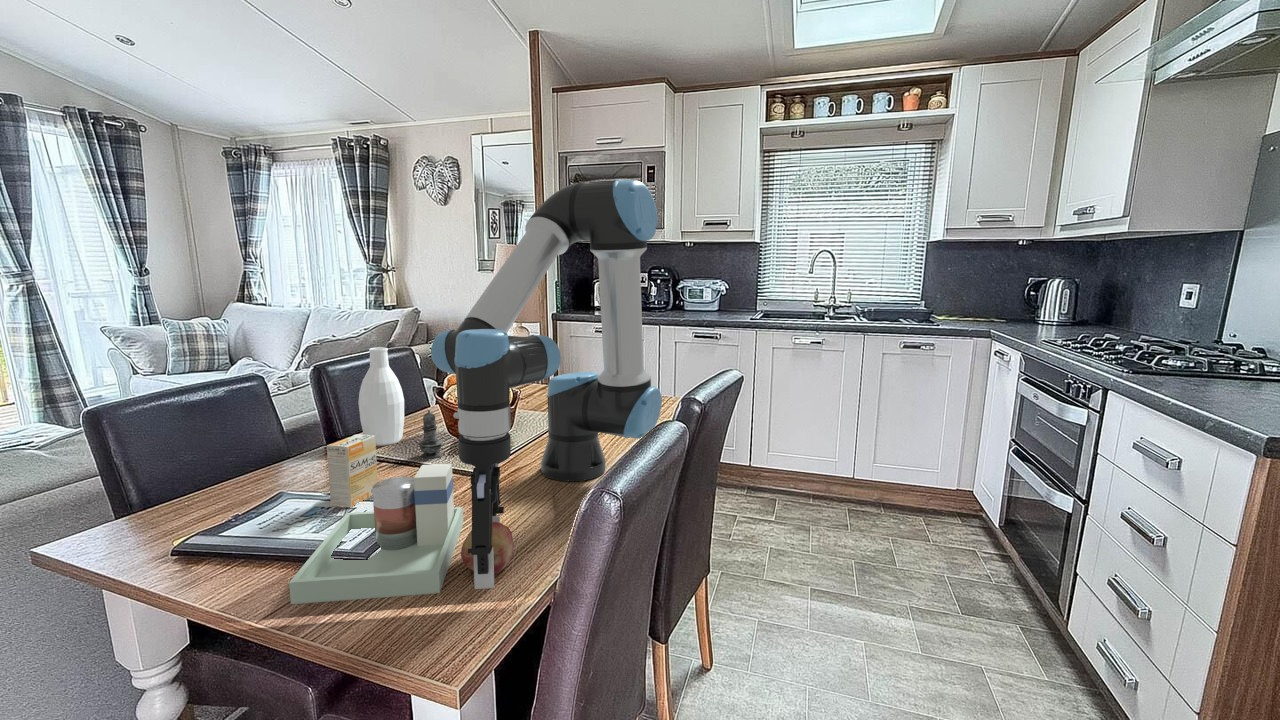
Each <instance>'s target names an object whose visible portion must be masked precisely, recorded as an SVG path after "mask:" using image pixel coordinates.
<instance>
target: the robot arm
mask: <svg viewBox="0 0 1280 720" xmlns="http://www.w3.org/2000/svg"><path fill="white" fill-rule="evenodd" d="M657 227H658V211H657V207H656V202H655V199H654V197H653V194H652V193H651V192H650V189H649V188H648V186H647V185H645V184H644V183H643V182H641V181H639V180H637V179H636V180H635V179H633V180H632V179H623V178H622V179H615V180H603V181H593V182H575V183H572V184H568V185H566V186H564V187H562V188H560V189H559V190H557V191H556V192H554V193H553V194H552V195H550V196H549V197H548V198H547V199H545V201H543V202H542V203H541V204H540V206H539V207H538V208H537V209H536V210H535V211H534V213H533V214H531V215H530V217H529V219H528V220H527V222H526V224H525V227H524V230H525V233H524V235H523V236H522V237H521V239H520V240H519V241H518V243H517V244H516V246H515V247H514V249H512V251H511V253H510V254H509V256H508V258H506V260H505V261H504V263H503V264H502V266H501V267H500V268H499V270H498V271H497V273H496V274H495V276H494V277H493V279H492V280H491V281H490V282H489V284H488V285H487V287H486V288H485V290H484V291H483V292H482V294H481V295H480V297H478V299H477V300H476V302H475V304H474V305H473V306H472V308H471V309H470V310H469V312H468V313H467V315H465V317H464V320H463V321H462V322H461V324H460V325H459V326H458V327H457V329H450V330H445V331H442V332H440V333H438V334H437V335H436V336H435V337H434V339H433V342H432V344H431V349H430V355H431V360H432V362H433V364H434V365H435V366H436V368H437V369H439V370H440V371H442V372H444V373H448V374H452V375H455V381H456V384H455V386H456V401H457V403H456V404H457V412H454V413H453V418H454V419H458V422H457V426H458V433H459V434H460V435H459V437H458V438H457V440H458V441H457V442H458V458H459V461H461V463H463V464H466V465H470V466H473V467H472V473H471V474H470V485H471V486H470V490H471V530H472V548H471V549H468V553H471V554H472V555H474V571H473V582H474V590H484V589H494V588H495V574H494V557H493V547H492V522H499V523H501V522H500V520H501V519H500V517H501V516H500V515H501V514H504V511H505V507H504V506H500V505H501V502H502V501H501V498H500V497H501V496H500V482H501V481H500V478H501V467H500V466H499V464H501V463H504V462H505V461H507V460H508V459H509V458H510V457H511V451H512V449H511V448H512V447H511V445H512V443H511V433H509V431H510V430H511V426H512V425H511V403H510V402H511V401H510V398H511V393H510V392H511V391H510V390H511V389H513V388H516V387H519V386H524V385H528V384H532V383H536V382H537V383H538V382H541V381H543V380H546V379H548V378H550V380H549V381H548V385H547V395H546V397H547V421H548V422H547V425H548V426H547V428H548V430H547V431H548V434H547V436H548V438H547V443H546V444H545V445H546V446H545V449H544V451H543V454H542V457H541V461H540V462H541V463H540V472H541V474H542V475H543V476H544V477H546V478H548V479H551V480H554V481H560V482H579V481H580V482H581V481H588V480H593V479H594V478H598V477H600V476H601V475H603V474H604V473H605V472H606V458H605V454H604V451H603V449H602V446H601V443H600V440H599V439H600V438H599V434H605V435H610V436H615V437H616V436H617V437H620V438H625V439H637V440H639V439H640V438H641V437H643V436H644V435H645V434H646V433H647V432H648V431H650V430H651V429H653V428H654V429H655V427H656V426H657V423H658V421H659V418H660V415H661V411H662V410H661V409H662V401H663V400H662V399H663V397H662V396H663V395H662V393H661V390H660V389H659V388H658V387H656V386H653V385H652V379H651V378H652V377H651V376H652V375H651V374H650V373H649V372H648V371H647V370H646V369H645V368H644V346H643V345H644V344H643V338H644V337H643V318H642V317H643V314H642V313H643V312H642V284H641V281H642V279H641V278H642V276H641V257H642V255H643V254H644V253H645V252H646V251H647V249H648V241H650V240H652V239H653V238H654V236H655V235H656V232H657V229H656V228H657ZM580 241H581V242H582V241H583V242H585V241H586V242H589V246H590V247H589V248H590V249H589V250H590V252H591V253H592V254H593V255H594V256H595V257H596V258H597V262H598V279H599V282H598V283H599V298H600V299H599V300H600V316H601V319H600V320H601V322H600V323H601V336H602V337H601V338H602V340H601V341H602V354H603V355H602V356H603V357H602V358H603V360H602V361H603V371H602V372H601V373H600V374H599V373H598V372H596V371H580V372H578V371H577V372H569V373H565V374H564V373H563V374H559V375H556V376H554V377H552V376H553V375H555V374H556V373H557V371H558V370H559V368H560V366H561V360H562V359H561V351H560V350H561V349H559V348H560V347H559V346H558V344H557V343H556V342H555V340H554V339H553V338H551V337H550V336H547V335H543V334H539V335H537V334H530V335H528V336H516V335H509V334H508V332H509V331H510V329H511V327H512V326H513V325H514V323H515V321H516V320H517V318H518V317H519V315H520V313H521V312H522V311H523V309H524V307H525V306H526V305H527V303H528V301H529V300H530V298H531V297H532V295H533V294H534V292H535V291H536V289H537V287H539V284H540V283H541V282H542V280H543V278H544V277H545V275H547V274H546V273H547V272H548V271H549V269H550V268H551V266H552V264H553V263H554V261H555V260H556V258H557V257H558V256H560V255H563V254H564V253H565V254H566V252H567V251H568V249H569V247H570V246H572V245H573V244H575V243H577V242H580ZM551 377H552V378H551ZM654 429H653V430H654Z"/></svg>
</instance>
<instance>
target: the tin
mask: <svg viewBox="0 0 1280 720" xmlns="http://www.w3.org/2000/svg"><path fill="white" fill-rule="evenodd" d="M414 491H415V489H414V477H411V476H394V477H390V478H386V479H383V480H380V481H377V483H376V484H374V485H373V496H372V499H373V503H372V504H373V505H372V506H373V512H374V521H375V531H376V541H377V543H378V544H379V545H380V547H381V549H382V550H400V549H404V548H408V547H410V546H412V545H414V544H416V543H417V527H416V508H415V497H414Z"/></svg>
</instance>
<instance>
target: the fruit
mask: <svg viewBox="0 0 1280 720" xmlns="http://www.w3.org/2000/svg"><path fill="white" fill-rule="evenodd" d="M513 540H514V539H513V534H512V531H511V529H510V528H509V527H508V526H507V525H505V524H503V523H501V522H500V523H499V522H492V547H493V557H494V575H496V574H498V573H500V572H501V571H503V570H504V569H505V567H507V565H508V564H509V563H510V562H511V560H512V557H513V554H514V546H515V545H514V541H513ZM471 548H472V529H471V530H470V532H469V533H468V534H467V536H466V537H465V539H464V541H463V543H462V546H461V549H460V556H461V561H462V563H463V564H464V565H465V567H466V568H468V569H469V570H471V572H472V571H473V572H474V555H472V554H471V553H468V549H471Z"/></svg>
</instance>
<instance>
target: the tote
mask: <svg viewBox="0 0 1280 720" xmlns="http://www.w3.org/2000/svg"><path fill="white" fill-rule="evenodd" d="M463 512H464V511H463V506H457V507H455V506H454V519H453V522H452V524H451V527H450V529H449V532H448V535H447V537H446V540H445V543H444V544H441V545H425V546H417V543H416V544H414V545H412V546H410V547H408V548H404V549H400V550H382V549H381V550H380V551H379V552H378V553H376V554H375V555H374V556H372V557H371V558H369V559H368V560H343V559H334V558H331V555H332V553H333V551H334V549H335V548H336V547H337V545H339V543H340V542H341V541H342V539H343V538H344V537H345V536H346V535H347V534H348V533H349V531H350V530H351V529H361V528H375V521H374V511H361V512H360V511H359V512H357V511H356V512H347V513H345V515H344V516H343V517H342V518H341V519H340V520H339V522H338V523H337V524H336V525H335V526H334V527H333V529H331V531H330V533H329V534H328V535H327V536H326V538H325V539H324V540H323V541H322V542H321V544H320V545H319V546H318V547H317V548H316V550H315V551H314V552H313V553H312V554H311V555H310V556H309V558H308V559H307V560H306V562H305V563H304V564H303V565H302V566H301V567H300V569H299V570H298V571H297V572H296V574H295V575H294V576H293V577H292V578H291V580H290V581H289V582H288V587H289V598H290V605H300V604H303V605H304V604H312V603H314V604H316V603H327V602H339V601H340V602H342V601H351V600H352V601H354V600H365V599H368V600H369V599H381V598H394V597H407V596H409V597H410V596H419V595H421V596H422V595H430V594H431V595H434V594H441V591H442V588H443V585H444V582H445V580H446V576H447V573H448V570H449V567H450V565H451V561H452V558H453V556H454V553H455V549H456V546H457V544H458V540H459V538H460V535H461V532H462V529H463V525H464V513H463Z"/></svg>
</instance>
